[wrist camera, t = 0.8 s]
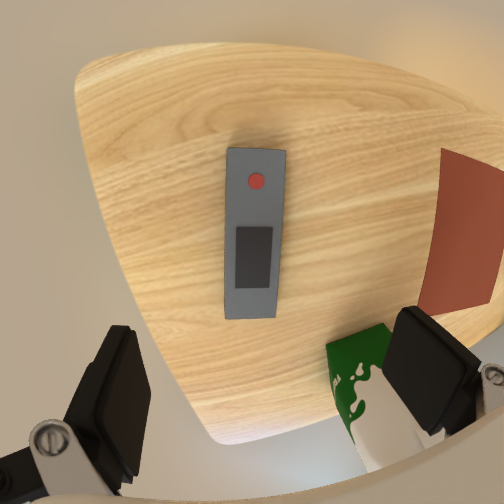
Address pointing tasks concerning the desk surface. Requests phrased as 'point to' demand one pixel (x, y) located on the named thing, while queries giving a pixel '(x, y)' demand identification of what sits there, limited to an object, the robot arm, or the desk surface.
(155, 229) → the desk surface
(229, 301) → the remote
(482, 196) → the mat
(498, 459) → the robot arm
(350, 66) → the desk surface
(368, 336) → the milk carton
